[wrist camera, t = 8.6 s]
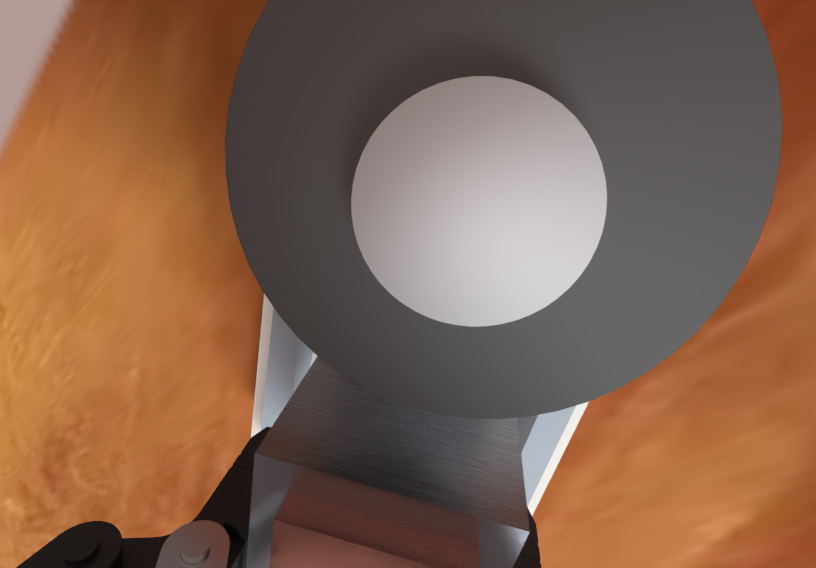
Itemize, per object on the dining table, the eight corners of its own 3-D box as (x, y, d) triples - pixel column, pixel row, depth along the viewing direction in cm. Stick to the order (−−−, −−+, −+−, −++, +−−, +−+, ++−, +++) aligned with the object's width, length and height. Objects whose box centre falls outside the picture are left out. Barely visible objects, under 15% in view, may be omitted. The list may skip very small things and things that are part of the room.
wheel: (694, 27, 9) (1007, -86, 4) (568, 321, 12) (637, 501, 6) (365, -47, 9) (206, -247, 4) (320, 254, 12) (194, 370, 7)
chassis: (707, 94, 14) (837, 88, 9) (523, 489, 21) (535, 611, 16) (316, 2, 14) (227, -52, 9) (269, 414, 22) (206, 507, 17)
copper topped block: (512, 379, 12) (533, 566, 7) (450, 547, 14) (434, 759, 10) (333, 331, 12) (237, 479, 7) (306, 505, 15) (225, 692, 10)
